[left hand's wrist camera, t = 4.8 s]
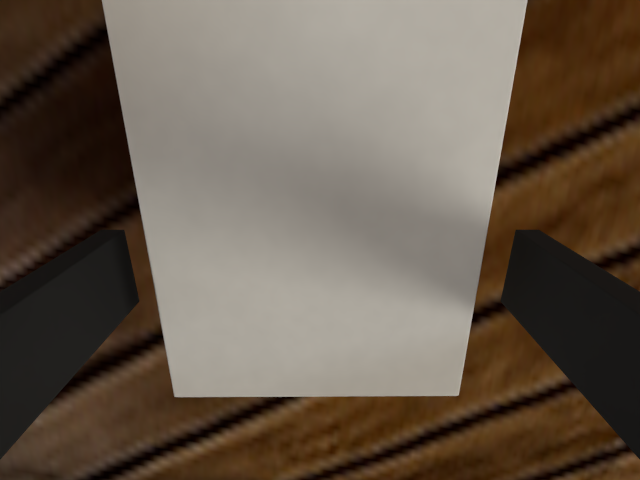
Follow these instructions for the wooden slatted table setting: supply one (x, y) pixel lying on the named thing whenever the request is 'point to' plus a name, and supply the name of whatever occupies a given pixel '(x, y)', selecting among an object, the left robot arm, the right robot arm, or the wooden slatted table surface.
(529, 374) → the wooden slatted table surface
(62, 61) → the wooden slatted table surface
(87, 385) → the wooden slatted table surface
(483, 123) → the cabinet
